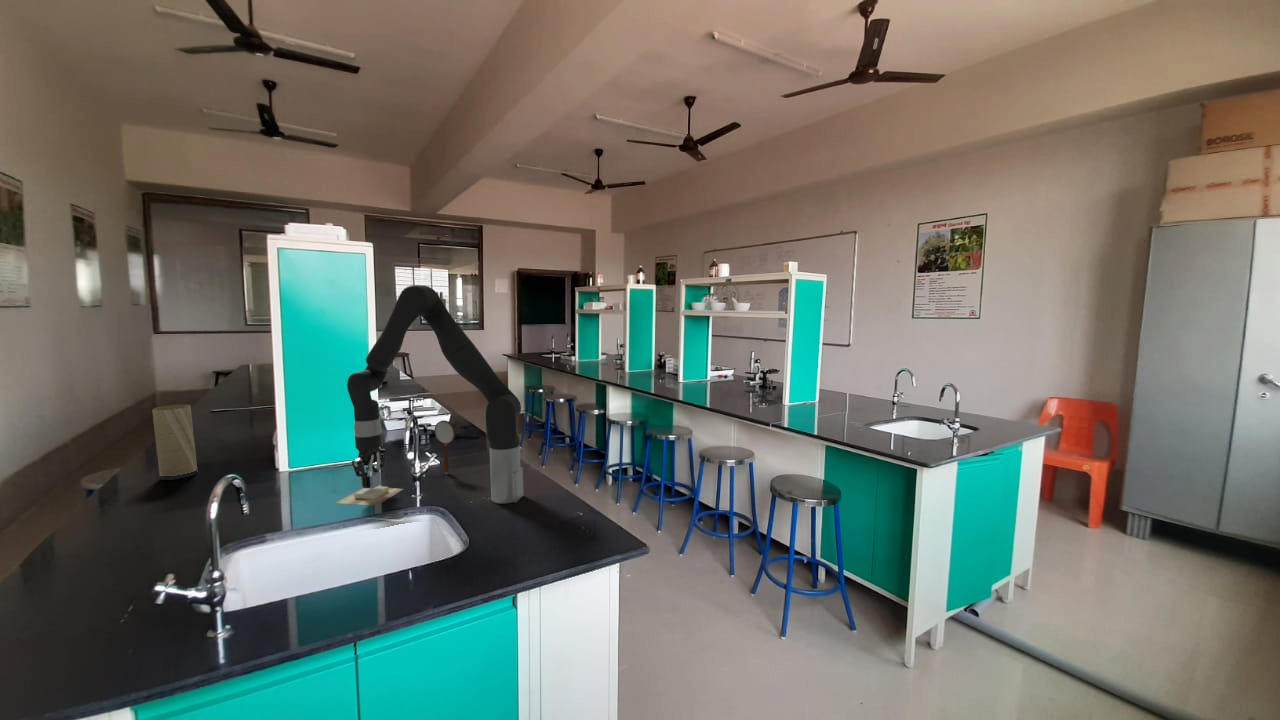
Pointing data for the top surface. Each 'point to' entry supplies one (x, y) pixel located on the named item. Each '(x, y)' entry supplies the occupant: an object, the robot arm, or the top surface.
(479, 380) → the robot arm
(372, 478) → the block
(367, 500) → the cork mat
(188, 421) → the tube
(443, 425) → the magnifying glass
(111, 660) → the top surface
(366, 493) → the tile
